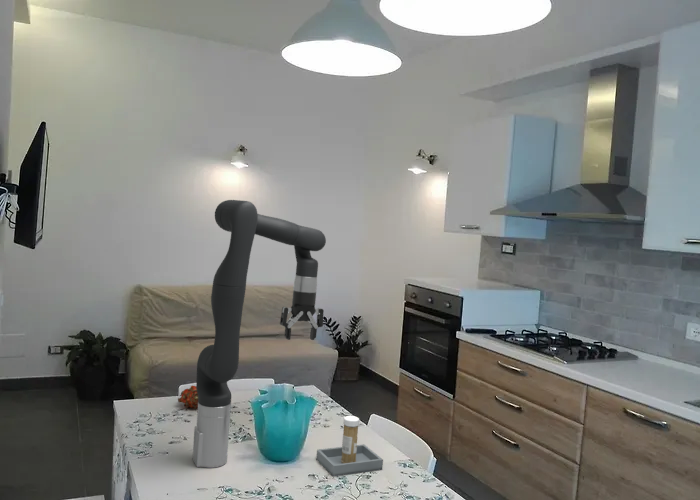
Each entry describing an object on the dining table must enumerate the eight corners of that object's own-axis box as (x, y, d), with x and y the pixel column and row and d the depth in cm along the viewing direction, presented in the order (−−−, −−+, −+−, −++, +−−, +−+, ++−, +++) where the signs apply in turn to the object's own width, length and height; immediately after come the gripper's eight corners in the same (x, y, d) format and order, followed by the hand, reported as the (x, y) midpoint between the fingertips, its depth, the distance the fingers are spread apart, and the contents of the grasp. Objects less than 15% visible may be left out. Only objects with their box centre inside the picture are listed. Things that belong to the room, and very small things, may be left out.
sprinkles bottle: (358, 464, 172) (362, 419, 171) (346, 466, 169) (349, 421, 169) (350, 458, 176) (353, 414, 175) (337, 460, 173) (341, 416, 172)
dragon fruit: (201, 417, 207) (181, 413, 214) (216, 399, 213) (196, 395, 220) (189, 400, 203) (168, 396, 211) (204, 382, 209) (184, 379, 216)
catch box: (332, 476, 163) (333, 466, 163) (316, 459, 174) (316, 449, 174) (382, 469, 171) (383, 459, 170) (363, 453, 181) (364, 444, 181)
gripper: (288, 290, 183) (283, 341, 183) (329, 292, 190) (324, 341, 190) (280, 287, 190) (275, 337, 190) (320, 289, 196) (315, 337, 196)
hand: (300, 339), depth 190 cm, fingers open, 8 cm apart
